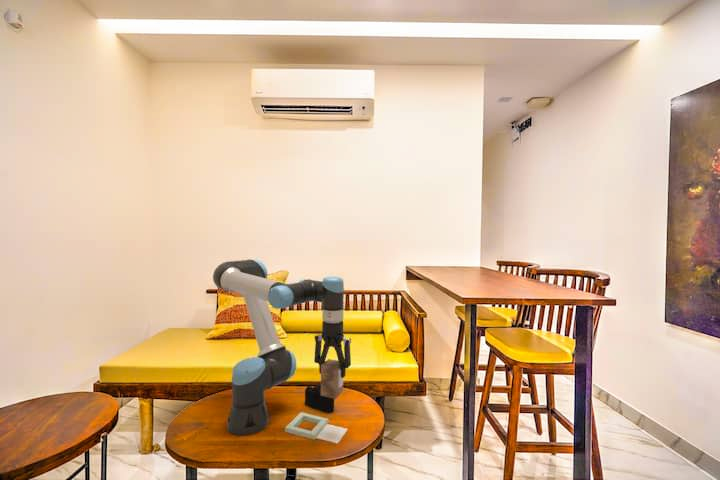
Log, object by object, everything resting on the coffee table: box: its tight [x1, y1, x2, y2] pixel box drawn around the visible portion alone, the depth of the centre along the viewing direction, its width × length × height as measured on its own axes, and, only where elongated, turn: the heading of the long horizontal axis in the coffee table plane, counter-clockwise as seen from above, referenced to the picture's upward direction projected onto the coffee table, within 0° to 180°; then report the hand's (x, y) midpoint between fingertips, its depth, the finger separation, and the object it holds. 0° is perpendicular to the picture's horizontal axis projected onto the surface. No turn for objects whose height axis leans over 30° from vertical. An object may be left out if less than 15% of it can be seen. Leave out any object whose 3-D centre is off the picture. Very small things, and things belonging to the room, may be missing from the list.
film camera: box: [304, 384, 335, 414], centre depth 142 cm, size 15×10×9 cm, turn 57°
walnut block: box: [320, 358, 344, 400], centre depth 121 cm, size 6×6×11 cm
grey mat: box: [315, 423, 349, 444], centre depth 121 cm, size 9×9×1 cm
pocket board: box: [284, 412, 329, 440], centre depth 125 cm, size 12×11×2 cm
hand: (332, 384), depth 121 cm, fingers closed on walnut block, 6 cm apart
